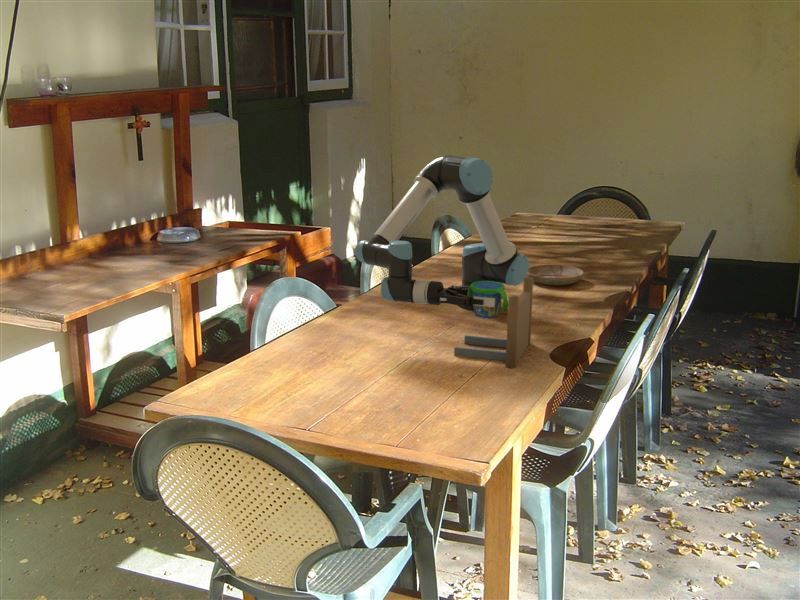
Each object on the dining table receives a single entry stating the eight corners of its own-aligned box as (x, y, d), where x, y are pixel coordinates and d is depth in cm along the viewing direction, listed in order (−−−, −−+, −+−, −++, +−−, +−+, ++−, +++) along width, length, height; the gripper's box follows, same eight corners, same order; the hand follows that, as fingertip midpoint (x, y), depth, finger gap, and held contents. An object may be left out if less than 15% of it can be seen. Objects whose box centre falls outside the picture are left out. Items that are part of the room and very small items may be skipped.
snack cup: (516, 319, 290) (517, 287, 287) (490, 324, 284) (491, 292, 281) (483, 308, 302) (484, 277, 299) (458, 313, 296) (458, 282, 293)
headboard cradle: (470, 336, 311) (471, 272, 305) (531, 342, 305) (533, 277, 299) (448, 361, 286) (450, 292, 280) (514, 368, 280) (517, 298, 274)
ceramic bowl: (515, 278, 391) (515, 267, 390) (563, 273, 400) (563, 262, 399) (544, 291, 370) (545, 279, 369) (594, 286, 379) (595, 274, 378)
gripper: (438, 295, 308) (505, 301, 301) (418, 312, 288) (489, 319, 281) (438, 273, 306) (505, 278, 300) (419, 289, 286) (490, 295, 279)
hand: (498, 298), depth 290 cm, fingers closed on snack cup, 9 cm apart
